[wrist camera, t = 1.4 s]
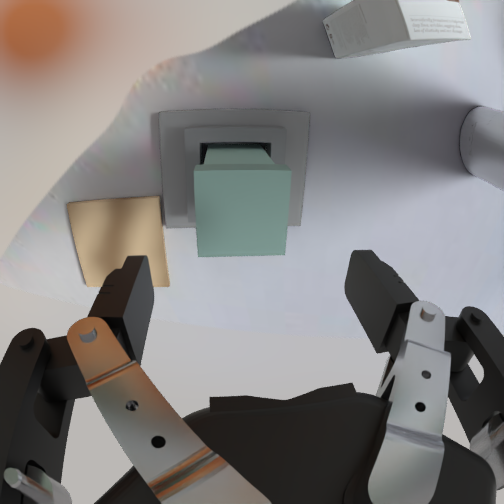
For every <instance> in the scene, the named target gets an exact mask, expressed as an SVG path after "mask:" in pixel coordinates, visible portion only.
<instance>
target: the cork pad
mask: <svg viewBox="0 0 504 504" xmlns="http://www.w3.org/2000/svg"><path fill="white" fill-rule="evenodd" d="M67 209H68V214H69V219H70V224H71V228H72V232H73V237H74V241H75V245H76V249H77V253H78V257H79V260H80V264H81V268H82V271H83V275H84V278H85V281H86V285H87V287H102V285H103V283H104V280H105V278H106V276H108V275H109V274H110V273H111V272H112V271H113V270H114V269H121V268H122V266H123V264H124V262H125V260H126V258H127V256H133V255H147V257H148V260H149V266H150V272H151V278H152V283H153V287H169V285H170V281H169V274H168V266H167V259H166V251H165V243H164V234H163V225H162V215H161V205H160V196H148V197H131V198H116V199H103V200H91V201H80V202H69V203H68V204H67Z"/></svg>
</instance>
